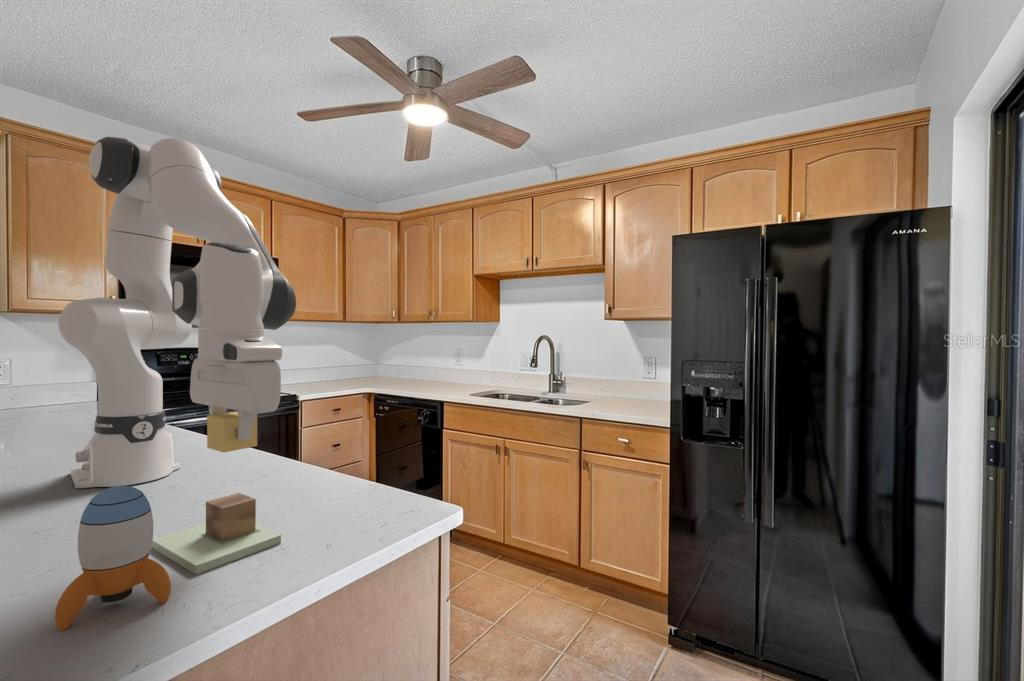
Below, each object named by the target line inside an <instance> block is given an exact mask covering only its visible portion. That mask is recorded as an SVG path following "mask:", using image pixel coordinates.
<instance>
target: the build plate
mask: <svg viewBox="0 0 1024 681" xmlns="http://www.w3.org/2000/svg"><path fill="white" fill-rule="evenodd" d="M281 543H282V535H281V534H280V533H278V532H275V531H272V530H271V529H270V530H269V529H268V528H265V527H263V526H260V525H259V524H255V531H253V532H250V533H247V534H244V535H241V536H238V537H235V538H232V539H229V540H226V541H223V542H221V541H219V540H217V539H215V538H213V537H211V536H209V535H207V534H206V523H203V524H199V525H197V526H194V527H189V528H186V529H183V530H180V531H176V532H174V533H170V534H167V535H163V536H159V537H156V538H153V540H152V546H151V549H152V550H154V551H156V552H158V553H159V554H161V555H162V556H164V557H166V558H168V559H169V560H171V561H173V562H174V563H175V564H178V565H179V566H181V567H183V568H184V569H186V570H188V571H189V572H191V573H192V574H194V575H199V574H202V573H204V572H207V571H210V570H212V569H215V568H218V567H221V566H223V565H225V564H229V563H230V562H233V561H237V560H239V559H241V558H244V557H247V556H250V555H252V554H254V553H258V552H260V551H263V550H265V549H268V548H270V547H273V546H277V545H278V544H281Z"/></svg>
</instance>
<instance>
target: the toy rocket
mask: <svg viewBox="0 0 1024 681" xmlns="http://www.w3.org/2000/svg"><path fill="white" fill-rule="evenodd" d="M153 539H154V518H153V512H152V508H151V504H150V502H149V499H148V498H147V496H146V494H145V493H144V492H143V491H142V490H140V489H138V488H136V487H133V486H131V485H124V486H112V487H107V488H106V489H103V490H101V491H99V492H98V493H97V494H95V495H94V496H93V497H92V498H91V499H90V500H89V502H88V504H87V505H86V506H85V508H84V510H83V512H82V514H81V517H80V522H79V526H78V534H77V553H78V554H77V555H78V560H79V565H80V567H81V570H82V573H81V574H80V575H78V576H77V577H76V578H75V579H73V580H72V581H71V582H70V584H69V585H68V586H67V587H66V588H65V590H64V591H63V593H62V594H61V595H60V597H59V600H58V602H57V604H56V607H55V611H54V612H55V613H54V619H55V620H54V621H55V626H56V628H57V629H58V631H60V632H62V631H65V630H67V629H68V628H69V627H70V626H71V625H72V624H73V622H74V620H75V619H76V617H78V615H79V614H80V612H81V611H82V610H83V609H84V608H85V606H86V603H88V602H87V601H88V598H89V597H91V596H100V601H101V602H102V603H107V604H108V603H116V602H119V601H122V600H124V599H126V598H128V597H130V596H131V595H132V594H133V587H135V586H138V585H140V584H143V587H144V588H145V590H146V591H147V592H148V593H149V594H150V595H151V596H152V597H154V599H156V600H157V601H158V602H159V603H160V604H164V603H167V602H168V600H169V599H170V597H171V589H172V582H171V578H170V575H169V572H167V570H166V569H165V568H164V566H162V565H161V564H160V562H157V561H155V560H153V559H152V558H149V556H150V553H151V550H152V548H151V546H152V540H153Z"/></svg>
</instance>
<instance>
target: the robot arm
mask: <svg viewBox="0 0 1024 681" xmlns="http://www.w3.org/2000/svg"><path fill="white" fill-rule="evenodd" d="M88 164H89V165H88V166H89V169H90V170H89V171H90V173H91V177H92V179H93V181H94V182H95V183H96V184H97V186H98V187H100V188H102V189H104V190H107V191H109V192H112V193H114V194H116V196H115V198H114V201H113V205H112V207H111V210H110V211H111V212H110V216H109V221H108V228H107V239H106V247H105V258H104V259H105V260H104V264H105V265H104V266H105V268H106V270H107V272H108V274H110V275H112V276H113V277H114V278H115V279H117V280H118V281H120V283H121V284H122V286H123V289H124V291H125V298H114V297H113V298H112V297H111V298H110V297H93V298H85V299H84V298H83V299H77V300H74V301H71V302H69V303H68V304H67V305H66V306H64V308H63V309H62V310H61V312H60V314H59V318H58V331H59V333H60V334H61V337H62V338H63V340H64V341H65V342H66V343H67V344H68V345H70V346H72V347H73V348H75V349H76V350H77V351H79V352H80V353H81V354H82V355H83V356H84V357H85V358H86V360H87V361H88V363H89V364H90V366H91V368H92V370H93V372H94V375H95V378H96V382H97V383H96V384H97V396H98V397H97V398H98V399H97V400H98V401H97V402H98V414H97V415H96V417H95V421H94V424H93V425H94V429H93V431H94V432H95V433H94V435H93V436H92V437H91V438H90V440H89V442H88V443H87V444H86V445H85V446H84V449H83V450H79V451H76V452H75V462H76V464H77V463H83V464H82V465H81V466H78V467H74V468H71V469H70V474H69V475H70V478H71V480H72V483H73V485H74V488H75V489H86V488H87V489H88V488H97V487H98V488H100V487H101V488H104V487H105V488H106V487H107V488H111V487H115V486H131V485H136V484H142V483H143V484H144V483H147V482H151V481H155V480H158V479H162V478H164V477H166V476H169V475H170V474H171V473H172V472H173V471H176V470H178V469H180V468H181V463H180V462H175V460H174V458H175V457H174V448H173V447H174V446H173V435H172V434H171V433H170V432H168V431H167V430H165V428H164V427H165V426H166V420H167V419H166V418H167V416H166V412H165V410H164V409H163V406H164V402H163V401H164V399H163V397H164V396H163V394H164V392H163V390H164V389H163V388H164V387H163V386H164V385H163V384H164V383H163V382H164V381H163V377H162V376H161V374H160V373H159V372H158V371H156V370H154V369H152V368H150V367H149V366H148V365H147V364H146V362H145V361H144V358H143V356H142V353H141V350H158V349H166V348H171V347H175V346H177V345H181V344H184V342H185V341H187V340H188V339H189V337H190V335H191V333H192V330H193V328H192V327H193V326H198V327H197V328H198V331H197V335H198V338H197V339H198V340H197V342H198V344H197V345H198V350H197V352H198V353H197V358H195V359H194V360H193V362H192V365H191V369H190V370H191V372H190V383H189V384H190V385H189V397H190V399H191V401H192V403H193V404H194V403H195V404H200V405H205V406H208V413H209V415H215V414H223V413H226V412H227V411H228V410H233V411H237V412H238V418H240V419H239V424H238V428H235V438H236V439H239V440H247V439H250V438H251V436H252V426H253V424H254V421H255V419H256V414H257V415H258V414H265V413H271V412H276V411H277V409H278V407H279V405H280V402H281V391H282V388H281V386H282V385H281V384H282V380H281V379H282V375H281V374H282V371H281V367H280V364H279V362H277V361H281V360H282V358H283V348H282V347H281V346H280V345H279V344H278V343H276V342H274V341H272V340H271V339H269V337H267V336H266V335H265V330H271V331H272V330H273V331H276V330H278V329H279V328H281V327H282V326H284V325H285V324H286V323H288V322H289V321H290V320H291V318H293V316H294V314H295V313H296V308H297V299H296V297H297V296H296V293H295V290H294V288H293V286H292V285H291V282H289V281H288V279H287V278H286V277H285V276H284V274H283V273H282V272H281V271H280V270H279V268H278V266H277V265H276V263H275V261H274V260H273V258H272V256H271V255H270V252H269V251H268V248H267V247H266V245H265V243H264V242H263V240H262V238H261V237H260V234H259V232H258V231H257V229H256V227H255V226H254V225H253V223H252V221H251V220H250V219H249V217H248V216H247V215H245V214H244V213H243V212H242V211H240V210H239V209H238V208H236V207H235V205H233V204H232V203H231V202H230V201H229V199H227V197H226V196H225V195H224V194H223V192H222V179H221V176H220V174H219V172H218V170H217V169H216V168H214V167H213V166H211V165H210V163H209V162H208V160H207V159H206V157H205V155H204V154H203V153H202V152H201V150H200V149H199V148H198V147H197V146H196V145H194V144H193V143H191V142H189V141H187V140H186V139H181V138H174V137H171V138H170V137H167V138H163V139H160V140H158V141H157V142H155V143H154V144H153V145H148V144H145V143H138V142H135V141H134V142H133V141H129V140H128V139H127V138H122V137H115V136H105V137H102V138H100V139H98V140H97V141H96V143H95V144H94V146H93V147H92V148H91V151H90V153H89V157H88ZM173 230H175V231H177V232H179V233H181V234H183V235H186V236H189V237H194V238H197V239H200V240H203V241H206V242H208V243H206V244H204V245H203V246H202V248H201V254H200V259H199V262H198V263H197V264H196V266H195V267H193V268H187V269H186V270H183V271H182V272H180V274H178V275H177V276H176V277H174V278H173V279H172V282H171V271H170V270H171V256H172V243H173Z"/></svg>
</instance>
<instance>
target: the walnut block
mask: <svg viewBox="0 0 1024 681" xmlns="http://www.w3.org/2000/svg"><path fill="white" fill-rule="evenodd" d="M256 500H257V499H256V498H254V497H251V496H248V495H246V494H243V493H241V492H237V493H234V494H230V495H225V496H222V497H218V498H215V499H210V500H206V501H205V524H206V534H207V535H209V536H211V537H213V538H215V539H217V540H219V541H221V542H223V541H226V540H229V539H232V538H235V537H238V536H241V535H244V534H247V533H250V532H253V531H255V524H256V522H257V521H256V518H257V517H256V515H257V512H256V510H257V508H256V507H257V506H256V504H257V503H256V502H257V501H256ZM256 525H257V524H256Z"/></svg>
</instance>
